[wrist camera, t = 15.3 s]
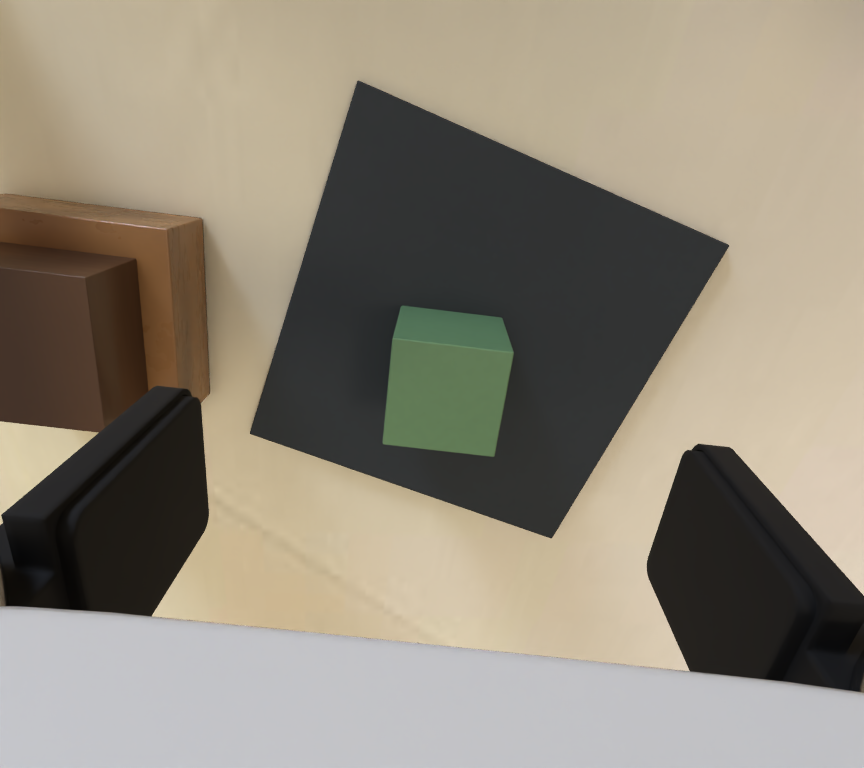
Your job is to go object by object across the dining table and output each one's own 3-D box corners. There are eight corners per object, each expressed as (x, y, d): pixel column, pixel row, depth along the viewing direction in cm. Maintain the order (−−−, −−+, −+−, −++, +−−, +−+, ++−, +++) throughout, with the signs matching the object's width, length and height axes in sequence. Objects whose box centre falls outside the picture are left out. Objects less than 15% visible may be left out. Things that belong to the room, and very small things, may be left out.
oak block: (202, 218, 29) (167, 229, 25) (210, 393, 33) (180, 425, 29) (5, 193, 28) (-60, 200, 25) (37, 373, 32) (-15, 403, 29)
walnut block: (136, 258, 26) (85, 277, 22) (149, 395, 28) (105, 433, 25) (-19, 239, 25) (-97, 255, 22) (9, 379, 28) (-56, 415, 24)
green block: (502, 317, 30) (514, 352, 25) (486, 408, 32) (494, 457, 27) (401, 304, 30) (392, 337, 25) (391, 397, 32) (382, 444, 27)
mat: (726, 244, 29) (730, 245, 28) (550, 534, 36) (551, 538, 36) (359, 81, 26) (357, 80, 26) (251, 430, 34) (249, 434, 33)
